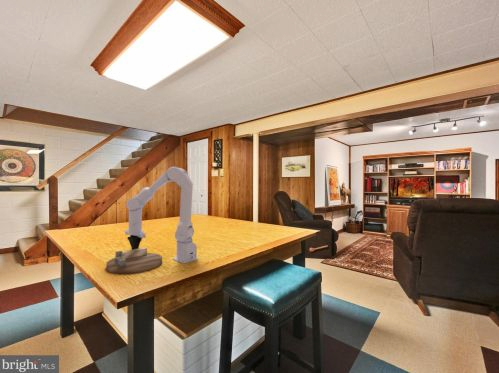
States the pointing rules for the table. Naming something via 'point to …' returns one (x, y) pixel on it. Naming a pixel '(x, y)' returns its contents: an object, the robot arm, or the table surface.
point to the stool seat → (134, 264)
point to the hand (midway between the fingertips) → (135, 251)
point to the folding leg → (131, 253)
